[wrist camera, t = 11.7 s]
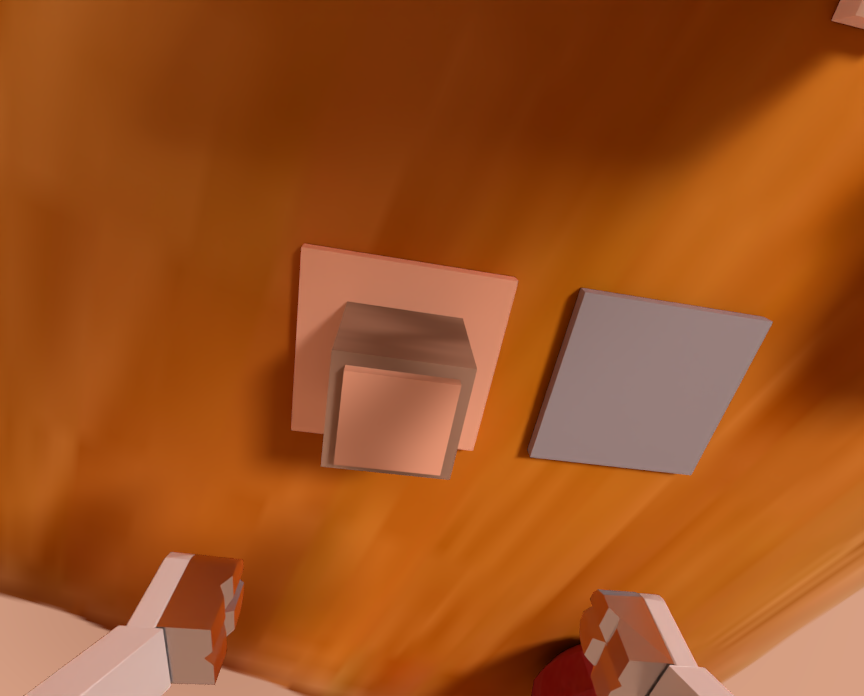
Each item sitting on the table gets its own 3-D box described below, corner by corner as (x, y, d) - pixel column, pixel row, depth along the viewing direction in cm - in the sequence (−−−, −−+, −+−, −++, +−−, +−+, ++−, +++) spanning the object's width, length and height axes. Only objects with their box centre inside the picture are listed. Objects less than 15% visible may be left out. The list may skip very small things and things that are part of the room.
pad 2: (763, 316, 22) (772, 321, 21) (685, 467, 26) (690, 475, 25) (580, 287, 21) (585, 292, 20) (527, 449, 24) (529, 456, 24)
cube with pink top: (462, 318, 20) (478, 375, 16) (441, 413, 22) (450, 486, 18) (347, 301, 20) (329, 355, 15) (336, 400, 22) (319, 473, 17)
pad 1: (515, 277, 20) (518, 281, 20) (471, 443, 24) (473, 450, 24) (304, 243, 19) (301, 246, 19) (293, 423, 23) (291, 430, 22)
